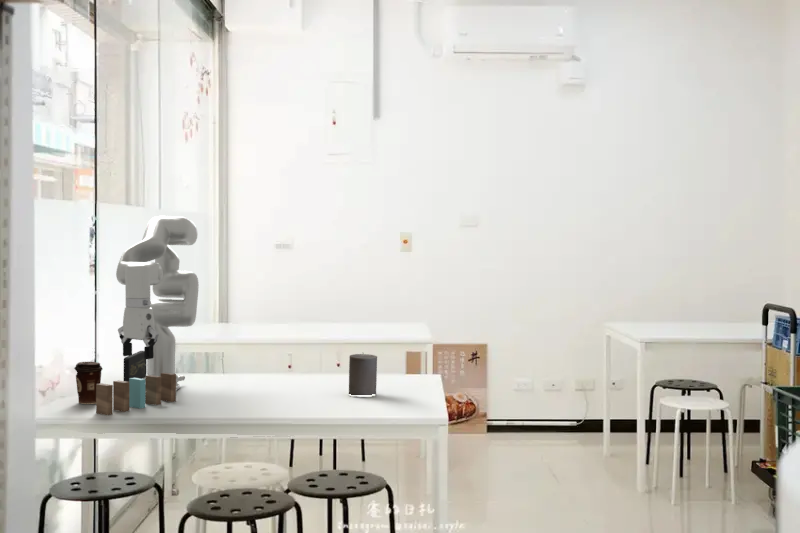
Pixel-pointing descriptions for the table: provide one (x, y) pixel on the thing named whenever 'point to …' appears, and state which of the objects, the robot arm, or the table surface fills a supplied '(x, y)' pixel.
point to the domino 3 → (153, 390)
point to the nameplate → (135, 366)
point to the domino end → (168, 387)
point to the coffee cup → (87, 381)
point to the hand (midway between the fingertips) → (138, 357)
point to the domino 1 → (121, 396)
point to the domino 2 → (137, 393)
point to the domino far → (104, 399)
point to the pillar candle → (362, 374)
